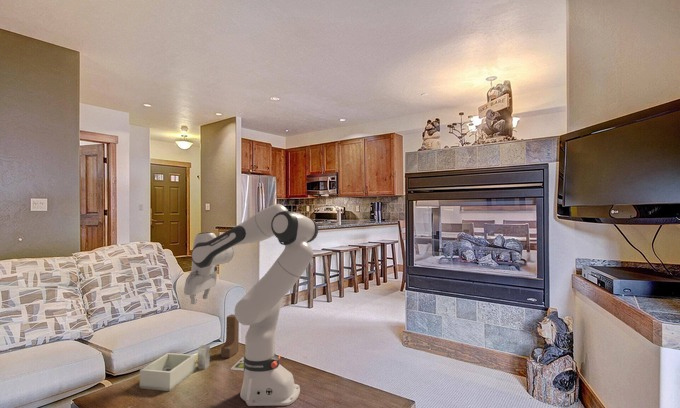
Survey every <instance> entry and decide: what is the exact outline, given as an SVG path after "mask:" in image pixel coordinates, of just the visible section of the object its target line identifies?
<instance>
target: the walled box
mask: <svg viewBox="0 0 680 408" xmlns="http://www.w3.org/2000/svg"><path fill="white" fill-rule="evenodd" d="M195 372H196V354H189V353H188V354H187V353H186V354H185V353H172V352H167V353H165V354H164V355H162V356H161V357H159V358H158V359H156V360H154V361H152V362H151V363H149V364H148V365H146V366H144V367H142V368H140V370H139V389H145V390H153V391H155V390H156V391H164V392H171V390H173V389H174V388H175V387H177V386H178V385H179V384H181V383H182V382H183V381H185V380H186V379H187V378H189V376H191V375H192V374H194V373H195Z"/></svg>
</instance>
